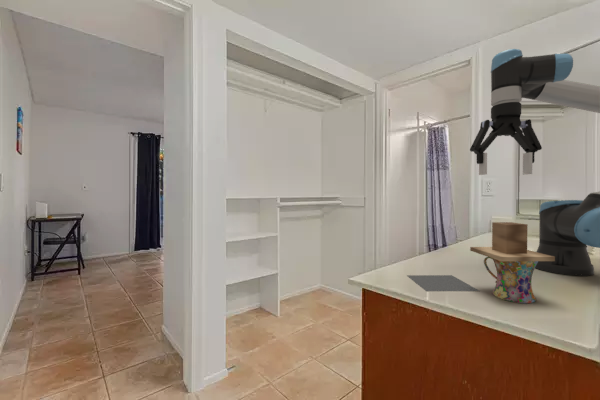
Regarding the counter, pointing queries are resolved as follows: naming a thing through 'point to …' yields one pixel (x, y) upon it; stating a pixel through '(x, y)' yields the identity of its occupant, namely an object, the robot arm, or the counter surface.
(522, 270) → the mug
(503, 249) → the lid
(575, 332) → the counter surface
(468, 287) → the mat
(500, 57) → the robot arm
